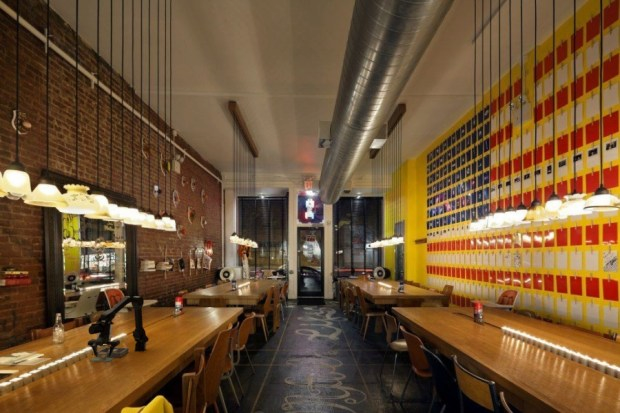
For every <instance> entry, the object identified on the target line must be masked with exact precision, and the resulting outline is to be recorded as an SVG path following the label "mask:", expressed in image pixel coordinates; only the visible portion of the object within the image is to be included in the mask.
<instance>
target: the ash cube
mask: <svg viewBox="0 0 620 413" xmlns="http://www.w3.org/2000/svg"><path fill="white" fill-rule="evenodd" d="M97 358H98V360H105V359H107V358H108V357H107V352H100V353H99V354H98V357H97Z"/></svg>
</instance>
